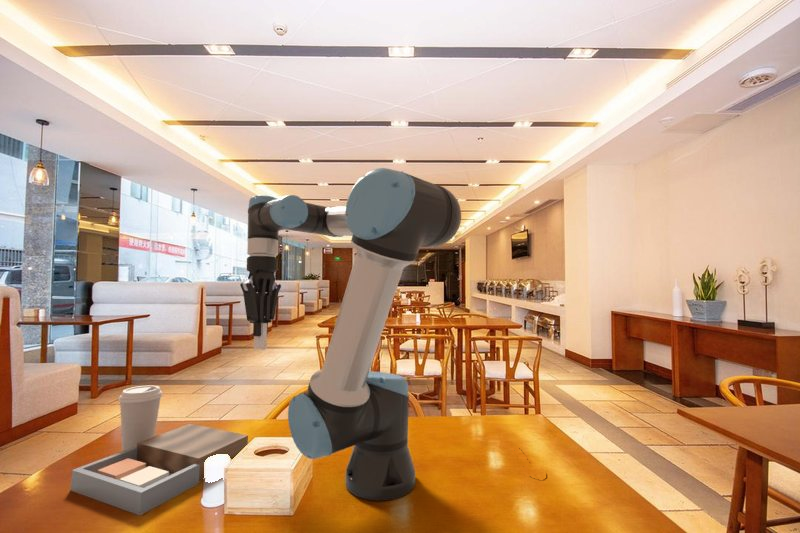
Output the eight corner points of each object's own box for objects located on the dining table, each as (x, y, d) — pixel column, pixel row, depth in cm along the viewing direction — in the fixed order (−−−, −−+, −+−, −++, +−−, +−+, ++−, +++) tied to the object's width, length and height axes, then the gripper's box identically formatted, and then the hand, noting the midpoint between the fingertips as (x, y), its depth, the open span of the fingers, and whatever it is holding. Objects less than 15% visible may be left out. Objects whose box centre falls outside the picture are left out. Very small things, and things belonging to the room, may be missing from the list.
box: (198, 483, 79) (199, 464, 79) (139, 515, 67) (141, 492, 68) (133, 464, 87) (134, 447, 87) (70, 490, 75) (72, 470, 76)
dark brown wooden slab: (247, 456, 92) (248, 435, 92) (197, 482, 79) (198, 458, 79) (189, 442, 100) (190, 423, 100) (135, 464, 87) (136, 442, 87)
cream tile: (139, 485, 71) (138, 501, 71) (169, 471, 77) (168, 486, 76) (119, 479, 73) (118, 494, 73) (149, 466, 79) (148, 480, 79)
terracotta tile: (116, 475, 74) (114, 491, 74) (146, 463, 80) (145, 477, 80) (97, 470, 77) (96, 485, 77) (128, 458, 82) (127, 472, 82)
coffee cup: (136, 458, 90) (140, 395, 91) (104, 454, 92) (108, 392, 93) (168, 443, 99) (172, 385, 100) (138, 439, 101) (142, 383, 102)
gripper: (267, 259, 103) (264, 345, 101) (232, 254, 91) (228, 352, 89) (290, 258, 101) (288, 346, 99) (257, 253, 89) (254, 353, 87)
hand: (260, 349), depth 94 cm, fingers closed
